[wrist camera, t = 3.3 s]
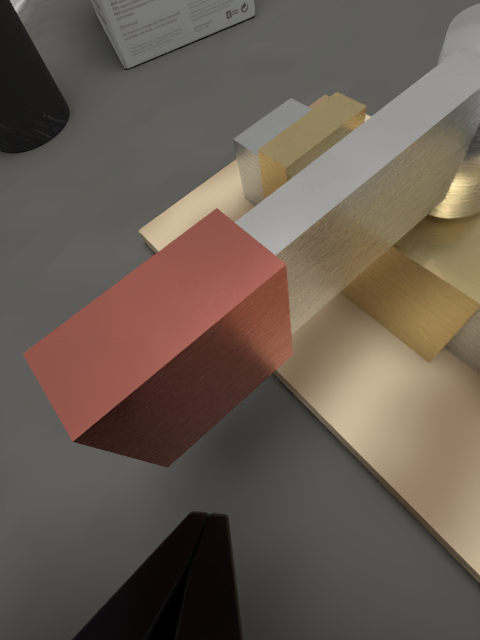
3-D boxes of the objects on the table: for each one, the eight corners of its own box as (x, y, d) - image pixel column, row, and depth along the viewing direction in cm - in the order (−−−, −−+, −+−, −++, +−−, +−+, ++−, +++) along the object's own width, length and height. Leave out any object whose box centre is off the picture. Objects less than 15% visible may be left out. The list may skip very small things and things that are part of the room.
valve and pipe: (677, 376, 14) (857, 313, 9) (588, 487, 13) (745, 478, 8) (304, 152, 23) (304, 64, 18) (232, 207, 22) (212, 127, 17)
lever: (436, 144, 14) (499, -24, 9) (513, 181, 12) (628, 5, 8) (128, 402, 11) (12, 335, 7) (185, 484, 10) (88, 468, 5)
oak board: (800, 355, 15) (838, 343, 14) (573, 679, 12) (600, 696, 11) (324, 111, 26) (325, 94, 25) (145, 243, 23) (138, 230, 22)
